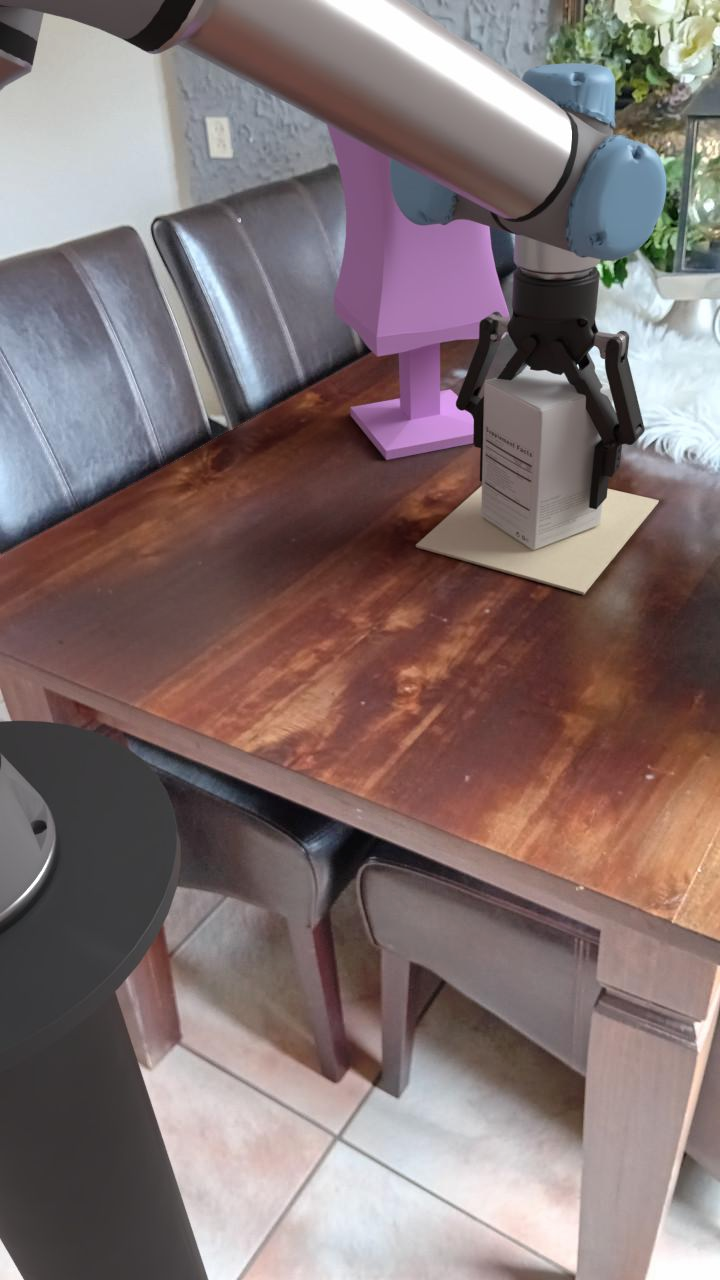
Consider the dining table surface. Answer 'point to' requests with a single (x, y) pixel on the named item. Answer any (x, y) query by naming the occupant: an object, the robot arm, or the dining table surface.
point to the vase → (409, 301)
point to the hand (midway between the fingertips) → (541, 489)
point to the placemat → (553, 564)
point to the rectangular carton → (538, 457)
